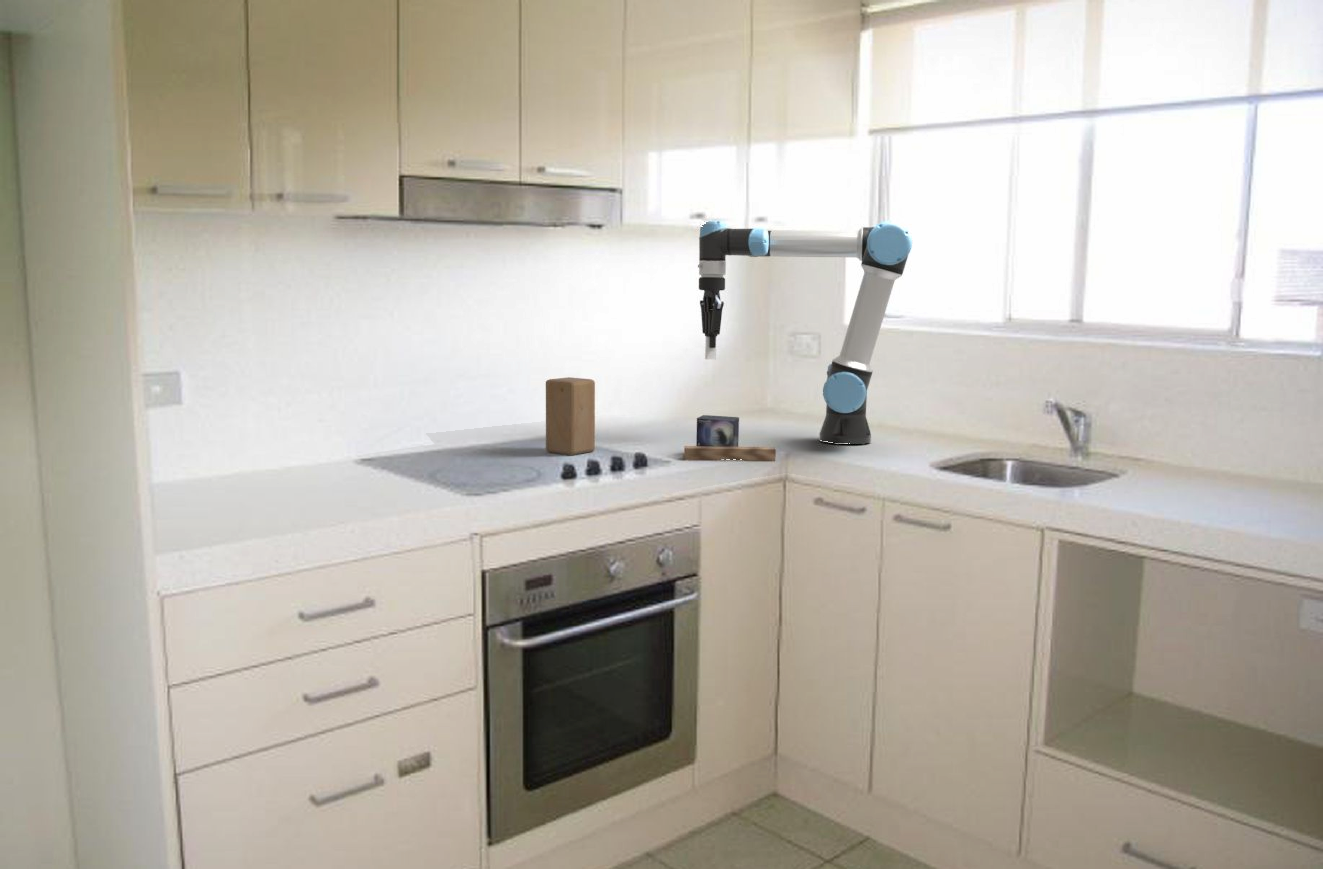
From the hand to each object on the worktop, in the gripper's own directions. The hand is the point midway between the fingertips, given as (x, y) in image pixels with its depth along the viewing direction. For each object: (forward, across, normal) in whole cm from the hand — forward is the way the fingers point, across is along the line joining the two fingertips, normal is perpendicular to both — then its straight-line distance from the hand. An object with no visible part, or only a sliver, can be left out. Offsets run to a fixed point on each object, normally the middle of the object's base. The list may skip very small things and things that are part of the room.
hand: (710, 359), depth 318 cm
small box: (+25, +21, -6) cm, 33 cm away
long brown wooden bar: (+25, +28, -5) cm, 38 cm away
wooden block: (+25, +6, -43) cm, 50 cm away
